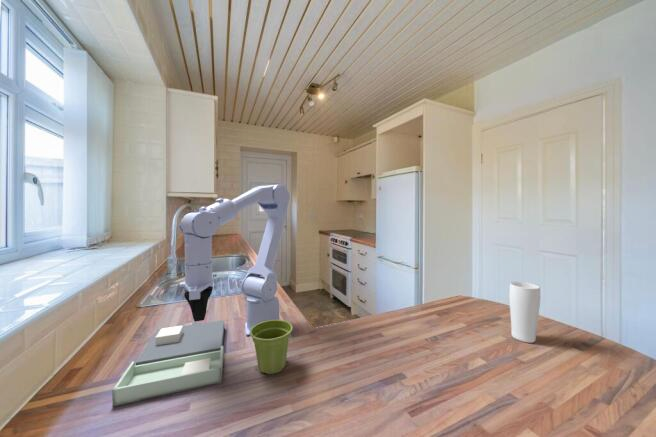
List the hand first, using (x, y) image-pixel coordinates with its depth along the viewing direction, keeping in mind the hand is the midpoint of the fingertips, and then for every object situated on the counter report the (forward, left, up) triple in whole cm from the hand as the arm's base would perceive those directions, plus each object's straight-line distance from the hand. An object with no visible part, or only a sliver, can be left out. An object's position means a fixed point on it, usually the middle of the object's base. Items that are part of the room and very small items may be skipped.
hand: (199, 319), depth 59 cm
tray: (+4, +6, -9) cm, 12 cm away
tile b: (+8, -8, -7) cm, 13 cm away
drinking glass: (-83, +21, -10) cm, 86 cm away
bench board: (+4, -7, -9) cm, 12 cm away
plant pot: (-16, +9, -10) cm, 20 cm away
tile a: (0, +8, -7) cm, 10 cm away
